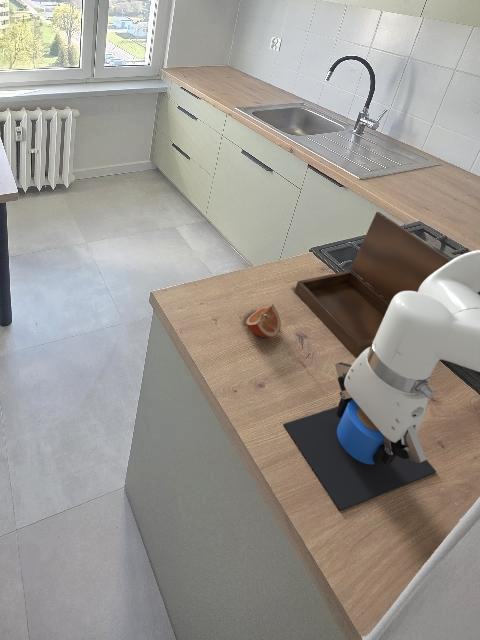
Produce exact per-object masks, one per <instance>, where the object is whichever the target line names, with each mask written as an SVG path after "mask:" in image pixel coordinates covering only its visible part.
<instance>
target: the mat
mask: <svg viewBox="0 0 480 640" xmlns="http://www.w3.org/2000/svg"><path fill="white" fill-rule="evenodd" d="M338 408H339V406H335V407H331V408H328V409H326V410H323V411H319V412H316V413H313V414H310V415H307V416H303V417H301V418H298V419H294V420H291V421H289V422H288V421H287V422H285V423H283V428H285V430H286V432H287V433H288V434H289V436H290V438H291V439H292V441H293V442H294V444H295V445H296V448H297V449H298V450H299V451H300V453H301V454H302V456H303V458H304V459H305V461H306V462H307V464H308V465H309V467H310V469H311V470H312V471H313V473H314V475H315V476H316V477H317V479H318V481H319V482H320V483H321V486H322V487H323V488H324V490H325V491H326V493H327V495H328V496H329V497H330V499H331V501H332V502H333V504H334V505H335V507H336V508H337V510H338V511H339V512H342V511H345V510H347V509H349V508H352V507H354V506H356V505H359V504H362V503H365V502H367V501H370V500H372V499H374V498H377V497H379V496H381V495H385V494H386V493H389V492H391V491H394V490H396V489H400V488H401V487H404V486H406V485H409V484H412V483H414V482H416V481H419V480H421V479H424V478H426V477H429V476H431V475H434V474H436V473H437V471H438V470H436V469H435V467H433V466H432V465H431V463H430V462H429V460H427V459H426V461H423V462H420V463H418V462H415V461H411V460H410V459H403V458H401V457H398V456H396V457H395V459H394V460H393V462H392V463H390V464H388V465H385V464H384V462H383V463H380V464H378V465H376V464H365V463H362V462H360V461H358V460H356V459H355V458H353V457H352V456H351V455H350V454H349V453H348V452H347V451H346V450H345V449H344V448H343V446H342V445H341V443H340V441H339V439H338V436H337V427H338V425H339V423H340V420H341V418H342V417H341V418H340V417H338V416H337V414H336V413H337V411H338ZM404 445H406V446H408V444H407V441H406V439H405V436H404Z"/></svg>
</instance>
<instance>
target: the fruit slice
mask: <svg viewBox="0 0 480 640" xmlns="http://www.w3.org/2000/svg"><path fill="white" fill-rule="evenodd" d="M245 324H246V327H247V328H248V329H249V330H250V332H252V333H253V334H255V335H256V336H258V337H261V338H275V337H277V336H278V335H279V334H280V331H281V325H282V322H281V318H280V315H279V312H278V310H277V308H276V306H275V305H274V304H273V303H272V304H266V305H263V306H262V307H260V308H259V309H257V310H256V311H254V312H253V313H251V314H250V315H249V316H248V318H246V320H245Z"/></svg>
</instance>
